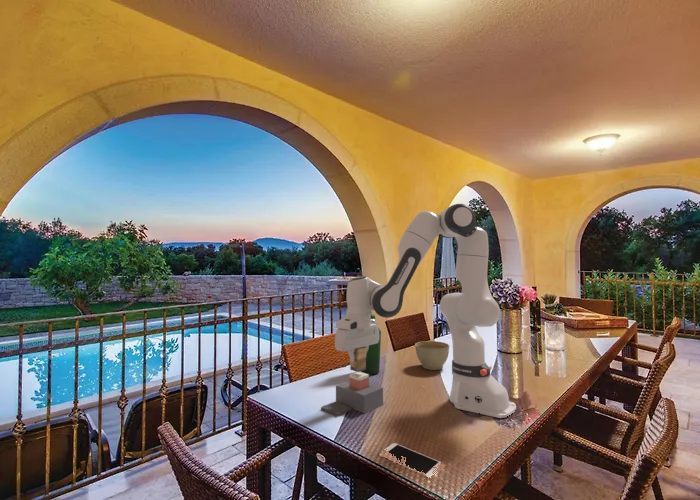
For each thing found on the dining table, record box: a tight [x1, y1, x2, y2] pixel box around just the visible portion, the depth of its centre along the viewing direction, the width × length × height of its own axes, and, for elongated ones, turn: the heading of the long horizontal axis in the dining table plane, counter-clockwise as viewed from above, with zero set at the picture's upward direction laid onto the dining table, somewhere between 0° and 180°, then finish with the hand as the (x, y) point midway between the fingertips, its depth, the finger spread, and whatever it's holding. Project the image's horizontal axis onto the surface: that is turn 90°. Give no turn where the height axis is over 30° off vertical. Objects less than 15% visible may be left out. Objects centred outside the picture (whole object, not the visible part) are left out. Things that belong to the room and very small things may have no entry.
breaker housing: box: [335, 380, 384, 414], centre depth 126 cm, size 14×10×6 cm
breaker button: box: [348, 371, 370, 391], centre depth 126 cm, size 5×5×5 cm
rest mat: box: [320, 401, 353, 417], centre depth 121 cm, size 8×7×1 cm
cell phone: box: [383, 442, 442, 479], centre depth 90 cm, size 8×16×1 cm, turn 48°
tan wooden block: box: [349, 347, 366, 373], centre depth 127 cm, size 4×4×8 cm
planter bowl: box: [414, 340, 450, 371], centre depth 168 cm, size 16×16×11 cm
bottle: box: [360, 310, 382, 376], centre depth 161 cm, size 11×11×28 cm
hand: (358, 359), depth 126 cm, fingers closed on tan wooden block, 4 cm apart
